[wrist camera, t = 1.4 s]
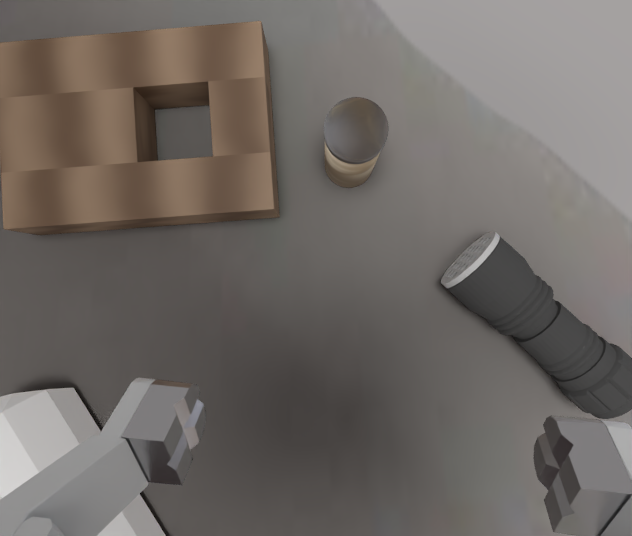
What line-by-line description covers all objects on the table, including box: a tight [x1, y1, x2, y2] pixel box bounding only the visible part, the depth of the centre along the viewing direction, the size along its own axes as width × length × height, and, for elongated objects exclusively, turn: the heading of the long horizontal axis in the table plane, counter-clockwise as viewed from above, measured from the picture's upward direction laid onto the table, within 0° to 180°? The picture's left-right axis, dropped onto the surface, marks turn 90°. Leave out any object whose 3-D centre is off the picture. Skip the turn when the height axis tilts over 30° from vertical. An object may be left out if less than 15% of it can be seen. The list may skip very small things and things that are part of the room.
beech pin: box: [324, 97, 388, 188], centre depth 31 cm, size 4×4×8 cm
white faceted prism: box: [0, 388, 166, 536], centre depth 32 cm, size 7×7×24 cm
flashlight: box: [441, 231, 632, 419], centre depth 32 cm, size 15×5×5 cm, turn 47°
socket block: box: [0, 21, 280, 235], centre depth 34 cm, size 20×14×4 cm
